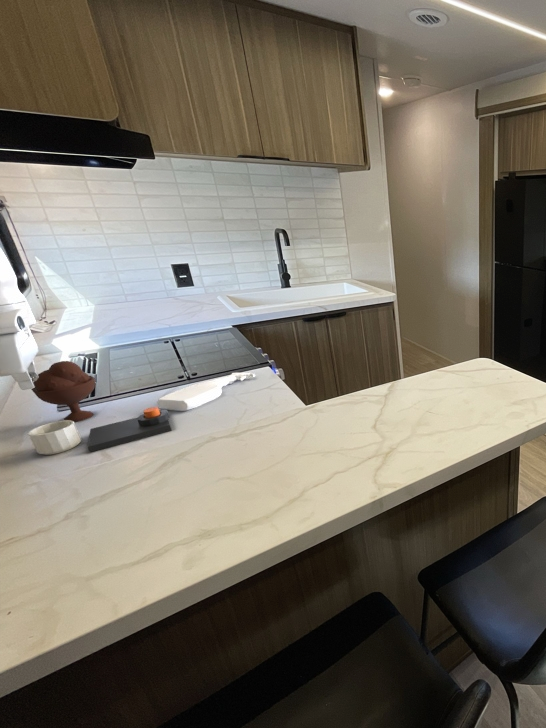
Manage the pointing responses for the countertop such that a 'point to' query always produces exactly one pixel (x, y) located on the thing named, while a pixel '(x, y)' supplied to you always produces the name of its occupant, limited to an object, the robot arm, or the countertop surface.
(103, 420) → the countertop surface
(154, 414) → the button
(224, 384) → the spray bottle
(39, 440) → the small bowl
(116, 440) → the scale
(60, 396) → the ice cream bowl
